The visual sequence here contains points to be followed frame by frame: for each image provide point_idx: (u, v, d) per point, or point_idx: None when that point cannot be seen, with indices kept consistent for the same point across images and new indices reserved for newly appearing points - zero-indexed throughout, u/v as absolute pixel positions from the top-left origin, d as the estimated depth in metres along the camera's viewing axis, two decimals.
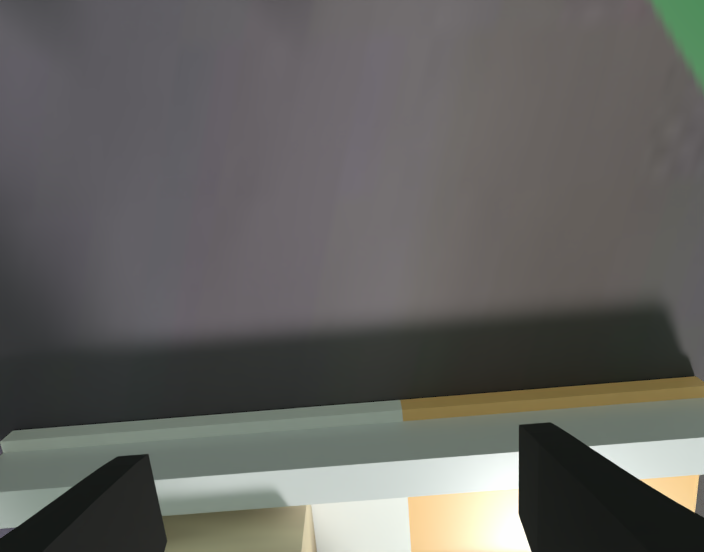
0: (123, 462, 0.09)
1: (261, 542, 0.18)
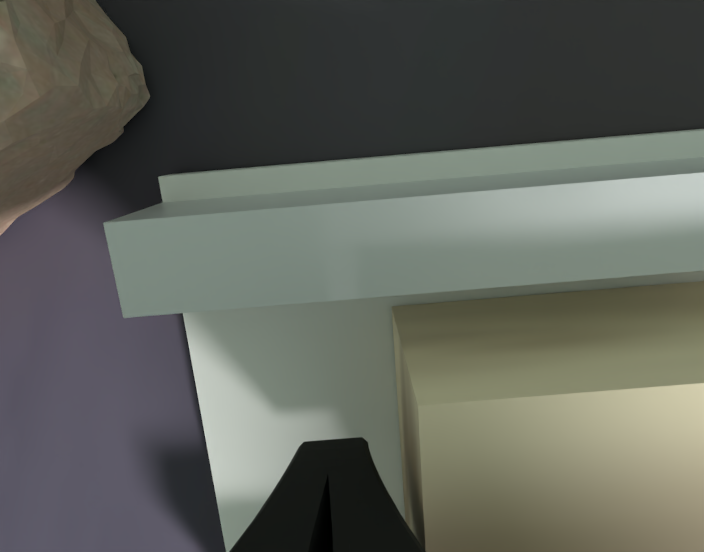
0: (318, 446, 0.09)
1: None
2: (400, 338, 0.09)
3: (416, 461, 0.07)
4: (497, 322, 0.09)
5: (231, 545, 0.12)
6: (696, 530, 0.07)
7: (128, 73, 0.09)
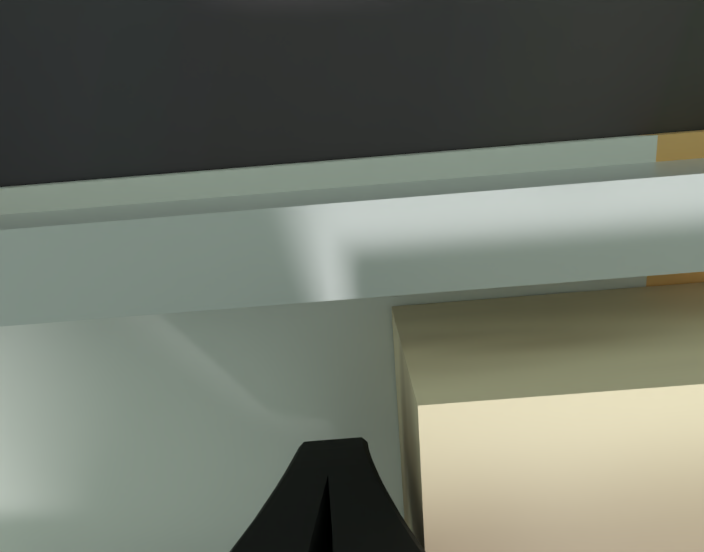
0: (318, 446, 0.09)
1: None
2: (400, 338, 0.09)
3: (416, 461, 0.07)
4: (497, 322, 0.09)
5: None
6: (696, 531, 0.07)
7: None
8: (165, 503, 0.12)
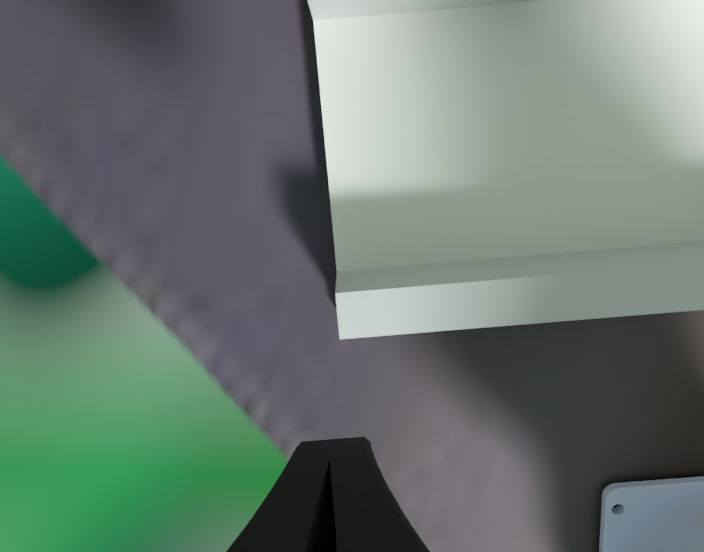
0: (315, 446, 0.09)
1: None
2: None
3: None
4: None
5: (338, 235, 0.17)
6: None
7: None
8: (484, 184, 0.17)
